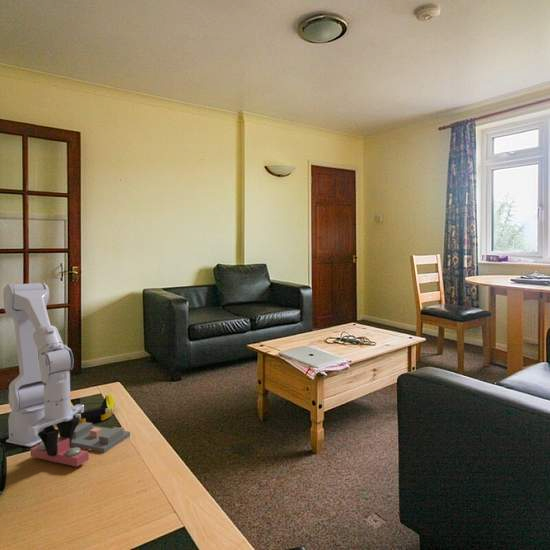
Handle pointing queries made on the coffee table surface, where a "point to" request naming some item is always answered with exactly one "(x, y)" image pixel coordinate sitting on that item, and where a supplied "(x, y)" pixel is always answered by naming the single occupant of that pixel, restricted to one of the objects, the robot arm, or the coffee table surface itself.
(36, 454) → the frame bar
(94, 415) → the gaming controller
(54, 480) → the coffee table surface
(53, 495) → the coffee table surface
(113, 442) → the display stand
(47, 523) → the coffee table surface
